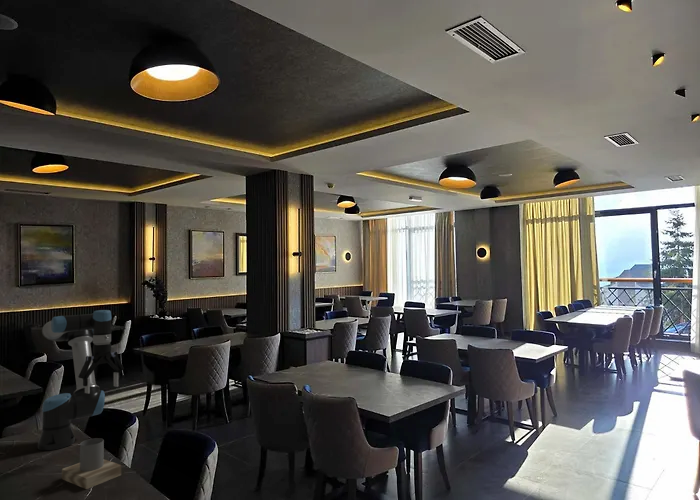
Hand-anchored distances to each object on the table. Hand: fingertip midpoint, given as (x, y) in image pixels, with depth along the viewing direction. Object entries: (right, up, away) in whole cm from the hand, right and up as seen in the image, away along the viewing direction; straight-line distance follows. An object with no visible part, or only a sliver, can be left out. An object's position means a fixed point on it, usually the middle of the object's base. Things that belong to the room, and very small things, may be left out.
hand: (102, 389), depth 213 cm
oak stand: (+11, -27, -27) cm, 40 cm away
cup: (+11, -23, -27) cm, 37 cm away
